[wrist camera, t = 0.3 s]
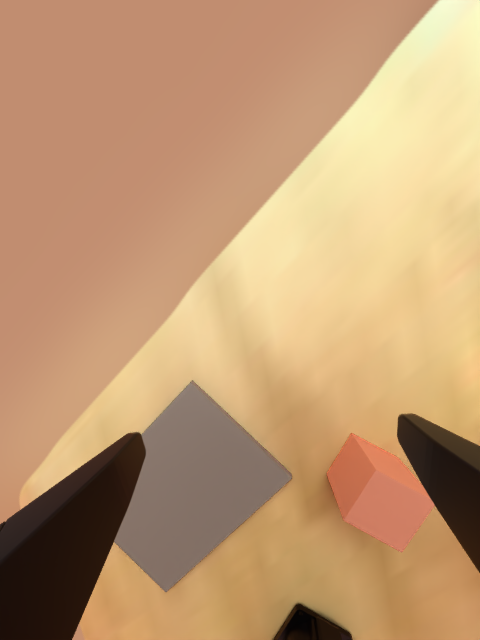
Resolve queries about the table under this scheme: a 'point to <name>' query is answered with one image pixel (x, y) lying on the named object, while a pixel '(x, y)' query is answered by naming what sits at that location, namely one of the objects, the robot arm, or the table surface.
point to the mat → (194, 486)
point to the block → (378, 493)
